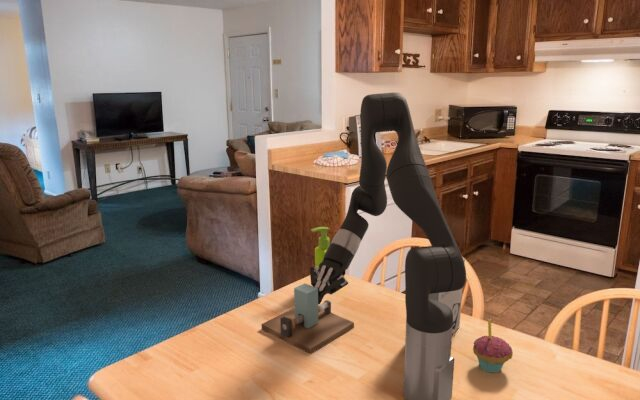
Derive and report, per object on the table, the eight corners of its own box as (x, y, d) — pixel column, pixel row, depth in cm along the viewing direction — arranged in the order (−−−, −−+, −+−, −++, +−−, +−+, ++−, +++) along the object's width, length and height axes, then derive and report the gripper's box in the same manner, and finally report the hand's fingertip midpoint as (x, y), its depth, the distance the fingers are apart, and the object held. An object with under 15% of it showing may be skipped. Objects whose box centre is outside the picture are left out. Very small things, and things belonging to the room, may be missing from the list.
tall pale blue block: (318, 322, 130) (317, 288, 127) (308, 328, 127) (307, 293, 124) (305, 317, 133) (304, 283, 130) (295, 322, 130) (294, 288, 127)
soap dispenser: (310, 285, 157) (308, 226, 152) (330, 282, 159) (329, 223, 154) (315, 292, 151) (314, 231, 146) (336, 289, 153) (336, 229, 148)
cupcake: (464, 360, 115) (467, 315, 112) (493, 353, 118) (497, 308, 115) (488, 381, 107) (492, 333, 104) (518, 373, 110) (524, 325, 107)
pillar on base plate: (353, 327, 131) (354, 307, 129) (310, 354, 119) (309, 332, 117) (305, 306, 142) (305, 288, 141) (261, 329, 130) (260, 309, 129)
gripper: (318, 237, 138) (288, 291, 132) (355, 248, 129) (324, 306, 123) (331, 249, 143) (302, 302, 137) (367, 261, 134) (338, 317, 129)
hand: (313, 304), depth 130 cm, fingers closed
